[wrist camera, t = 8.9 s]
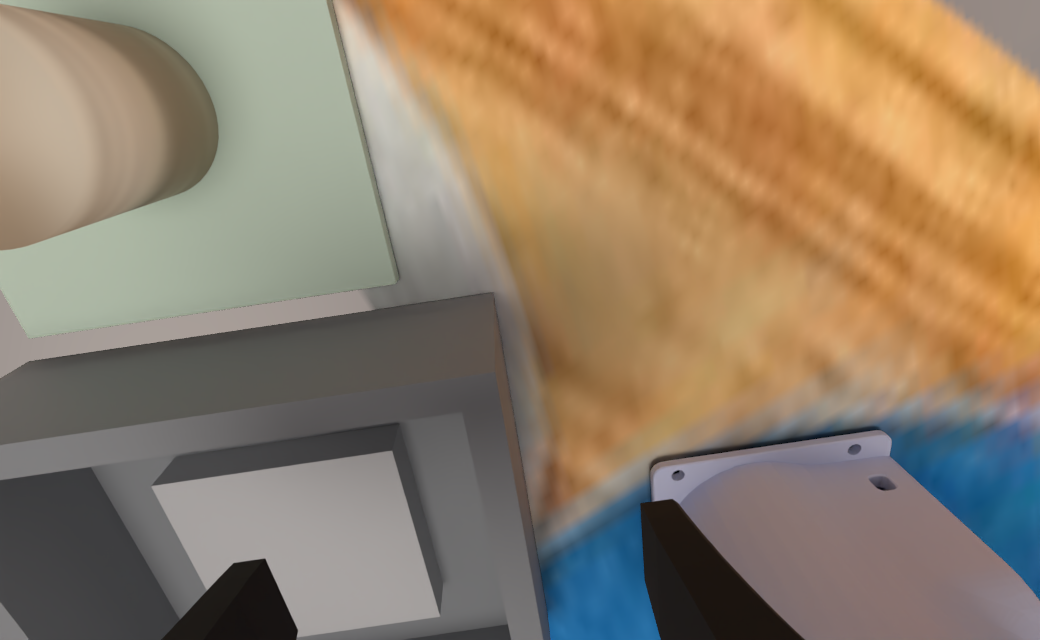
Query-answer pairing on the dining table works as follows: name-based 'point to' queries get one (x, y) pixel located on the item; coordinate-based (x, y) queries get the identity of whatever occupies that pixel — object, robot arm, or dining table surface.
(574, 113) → the dining table surface
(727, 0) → the dining table surface
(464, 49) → the dining table surface
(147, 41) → the cylinder
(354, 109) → the mat
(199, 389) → the box
